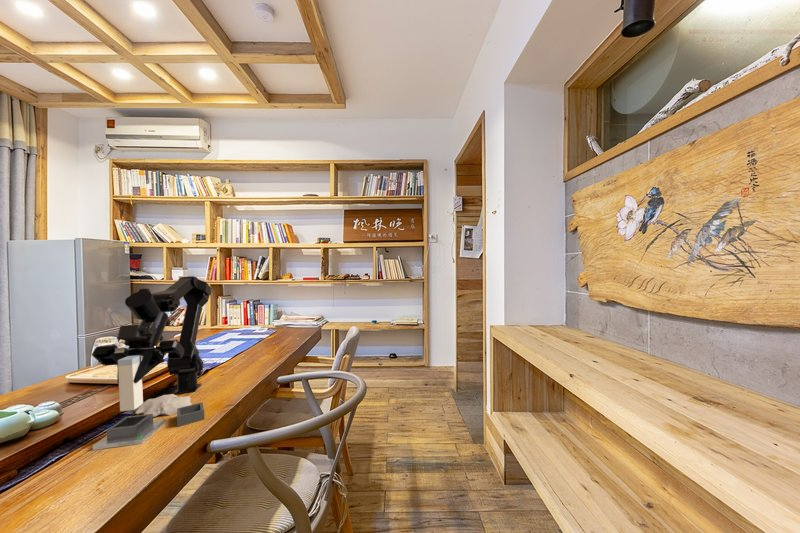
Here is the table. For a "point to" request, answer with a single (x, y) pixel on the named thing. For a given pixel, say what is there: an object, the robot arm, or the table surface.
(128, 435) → the port
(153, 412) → the decorative stone
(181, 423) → the grey hollow square frame
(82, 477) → the table surface
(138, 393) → the plug
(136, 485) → the table surface
